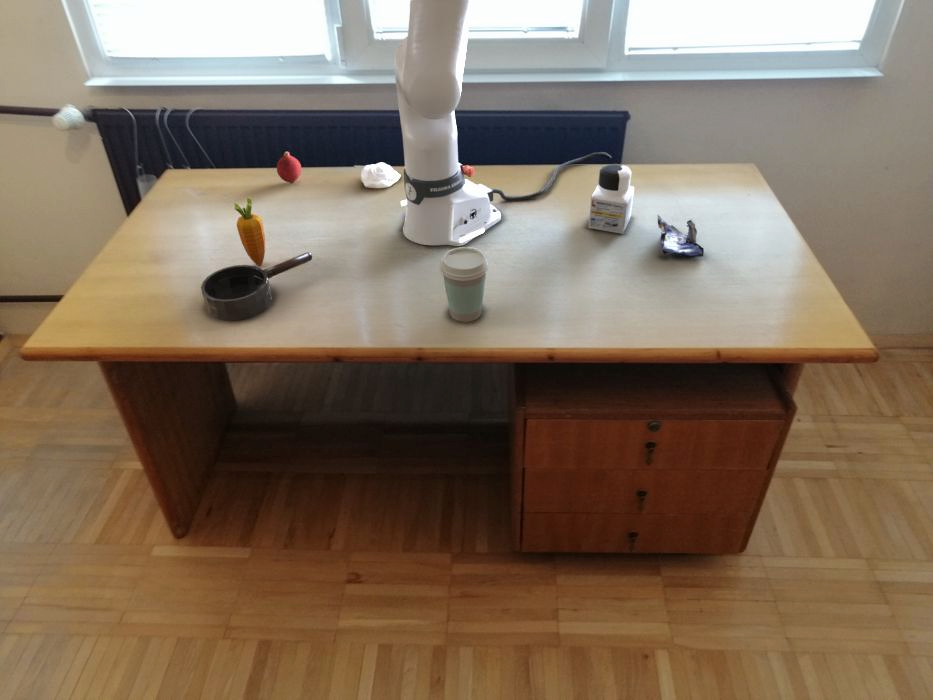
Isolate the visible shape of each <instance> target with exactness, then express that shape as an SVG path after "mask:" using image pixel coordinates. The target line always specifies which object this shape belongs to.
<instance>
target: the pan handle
mask: <svg viewBox="0 0 933 700" xmlns="http://www.w3.org/2000/svg"><path fill="white" fill-rule="evenodd" d="M312 259H313V254H312V253H311V252H309V251H307V252H304V253H302V254H299V255H297V256H295V257H292V258H290V259H287V260H284V261H282V262H280V263H277V264H275V265H273V266H270V267H268V268H264V269H262V270H263V271H265V272H266V274H267V277H268V280H270V279H271V278H273V277H275V276H278V275H280V274H282V273H284V272H288V271H290V270H292V269H294V268H297V267H299V266H301V265H304V264H306V263H309V262H311V261H312ZM259 273H260V272H259ZM260 274H261V273H260ZM260 277H262V276H261V275H260ZM262 278H263V277H262Z"/></svg>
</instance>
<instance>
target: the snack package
mask: <svg viewBox="0 0 933 700" xmlns="http://www.w3.org/2000/svg"><path fill="white" fill-rule="evenodd" d="M676 220H677V221H678V220H679V219H676ZM686 224H687V225H686V227H687V228H688V229H687V234H686V233H683V232H681V231H680V230H679V229H678V228H677V227H676V226H674V224H673V225H672V224H671V225H670V224H669V223H668V222H667V221H665V220H664V219H663V218H662V217H661V216H660V215H659V214H657V226H658V228H659V229H658V230H659V231H660V233H661V235H660V243H661V250H662V254H663V255H667V254H678V255H680V256H681V257H677V258H678V259H679V258H682V259H685V258H686V259H687V258H688V259H691V258H693V259H694V258H697V257H703V256H704V255H705V252H704V251H705V250H704V247H702V245H700V244H699V243H697V233H698V231H697V228H696V224H695V222H694V221H692V219H689V220H687V221H686Z"/></svg>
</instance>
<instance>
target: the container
mask: <svg viewBox="0 0 933 700" xmlns="http://www.w3.org/2000/svg"><path fill="white" fill-rule="evenodd" d="M631 178H632V171H631V169H630V168H629V167H628V166H626V165H624V164H620V163H610V164H606V165H603V166H601V168H600V169H599V174H598V184H597V186H596V188H595V189H594V191H593V193H592V195H591V196H590V207H589V217H588V228H589V229H592V230H599V231H603V232H609V233H615V234H620V235H621V234H624V232H625V230H626V228H627V226H628V224H629V222H630V219H631V217H632V210H633V202H634V195H635V186H633V185H631V180H632V179H631Z"/></svg>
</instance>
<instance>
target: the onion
mask: <svg viewBox="0 0 933 700" xmlns="http://www.w3.org/2000/svg"><path fill="white" fill-rule="evenodd" d="M276 173H277V175H278V176H279V178H280V180H282V181H284V182H286V183H289V184H294V183H295V182H296V181H297V180H298V179H299V177H300V176H301V175H302V165H301V163H300V161H299V159H297V158H296V157H294V156H292V155H290V152H289V151H285V152H284V153H283V155H282V157H280V159H278V161H277V164H276Z"/></svg>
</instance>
